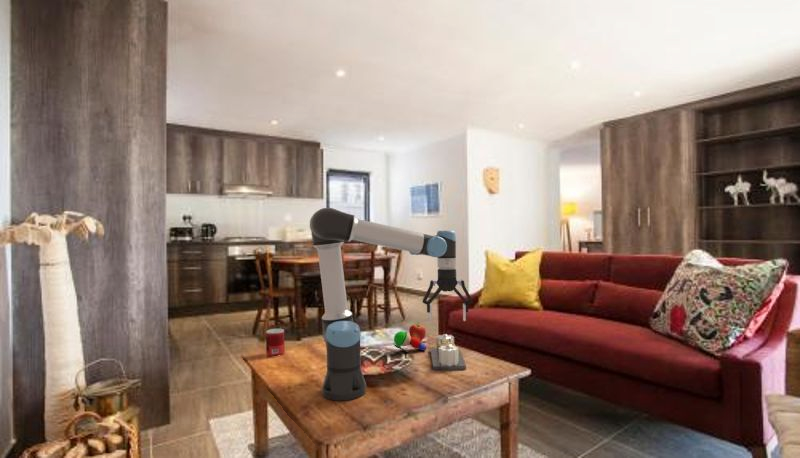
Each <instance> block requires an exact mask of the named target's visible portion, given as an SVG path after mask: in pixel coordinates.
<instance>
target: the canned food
mask: <svg viewBox="0 0 800 458" xmlns="http://www.w3.org/2000/svg"><path fill="white" fill-rule="evenodd" d="M265 344H266V345H265V350H266V356H267V355H268V356H278V355H281V356H283V355H284V354H285V330H284V328H271V329H268V330H266V332H265ZM282 354H283V355H282ZM268 356H267V357H268ZM278 357H279V356H278Z"/></svg>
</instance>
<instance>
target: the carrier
mask: <svg viewBox="0 0 800 458" xmlns="http://www.w3.org/2000/svg"><path fill="white" fill-rule="evenodd" d="M435 337H436V338H435V340H436V344H435V345H436V347H430V357H431V364H432V369H433V371H453V370H454V371H461V370H462V371H463V370H465V371H466V370H467V365H466V362H465V360H464V357H463V355H462V352H461V349H460V347H459V346H457V347H458V350H459V363H458V365H452V366H448V365H441V363H439V348H440V346H446V349H451V346H456V344H455V337H454V336H453V335H452V334H447V333H444V334H439V335H437V336H435Z"/></svg>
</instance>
